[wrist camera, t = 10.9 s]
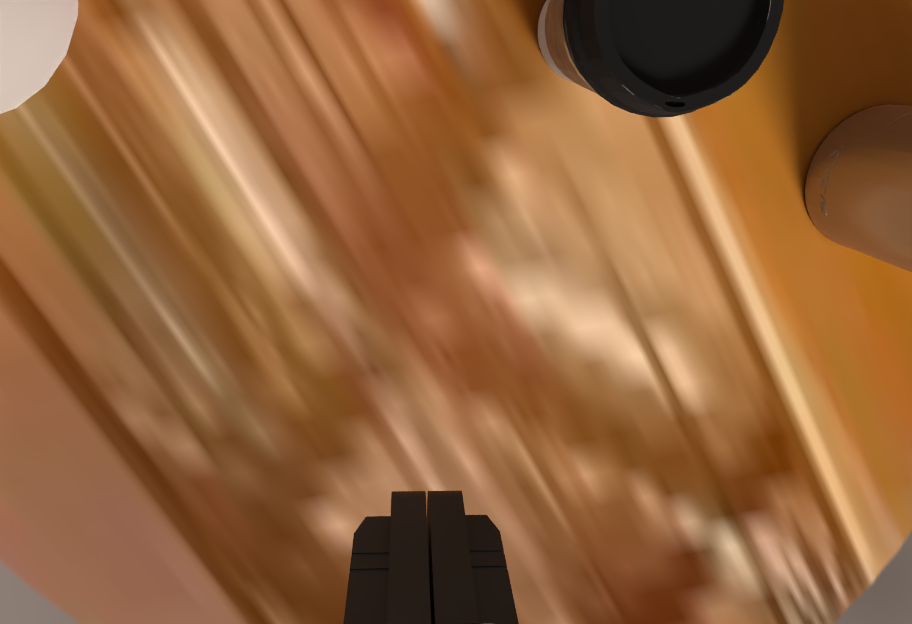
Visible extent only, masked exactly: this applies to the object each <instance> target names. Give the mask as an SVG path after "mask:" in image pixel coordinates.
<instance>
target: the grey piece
mask: <svg viewBox="0 0 912 624" xmlns="http://www.w3.org/2000/svg"><path fill="white" fill-rule="evenodd" d="M77 17H78V0H0V114H1V113H4V112H7V111H10V110H13V109H15V108H17V107H18V106H19V105H21V104H22V103H23V102H25V101H26V100H27V99H29V98H30V97H31V96H32V95H34V94H35V93H36V92H38V91H39V90H40V89H42V88H43V87H44V86H45V85H46V84H47V82H48V81H49V79H50V78H51V76H52V75H53V73H54V72H55V70H56V69H57V67H58V66H59V64H60V63H61V61H62V60H63V59H64V57H65V56H66V54H67V50H68V47H69V44H70V40H71V37H72V34H73V30H74V27H75V23H76V20H77Z"/></svg>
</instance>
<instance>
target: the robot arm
mask: <svg viewBox="0 0 912 624" xmlns="http://www.w3.org/2000/svg"><path fill="white" fill-rule="evenodd" d="M805 199H806V207H807V210H808V213H809V216H810V218H811V220H812V222H813V223H814V225H815V226H816V228H817V229H818V230H819V231H820V232H821V233H822V234H823V235H824V236H825V237H827V238H829V239H830V240H832V241H834V242H836V243H838V244H841V245H843V246H846V247H849V248H851V249H854V250H856V251H859V252H862V253H864V254H867V255H869V256H872V257H874V258H876V259H879V260H882V261H884V262H887V263H889V264H892V265H895V266H897V267H900V268H902V269H905V270H908V271H910V272H912V105H892V104H885V105H879V106H874V107H870V108H867V109H865V110H862V111H860V112H857V113H855V114H854V115H852V116H851V117H849V118H847V119H846V120H844V121H843V122H842V123H840V124H839V125H838V126H837V127H836V128H835V129H834V130H833V131H832V132H830V134H829V135H828V136H827V137H826V139H825V140H824V141H823V142H822V144H821V145H820V146H819V148H818V150H817V152H816V154H815V156H814V157H813V159H812V161H811V164H810V168H809V171H808V174H807V178H806V186H805ZM344 624H518V619H517V614H516V609H515V604H514V599H513V594H512V589H511V584H510V579H509V574H508V570H507V565H506V560H505V555H504V550H503V545H502V540H501V535H500V531H499V530H498V529H497V527H496V526H495V525H494V524H493V522H492V521H491V520H490V519H489V517H488V516H487V515H465V511H464V503H463V495H462V491H428V499H427V516H426V494H425V491H402V492H392V498H391V516H376V517H366V518H365V519H364V520H363V522H362V523H361V525H360V526H359V527H358V529H357V530H356V532H355V533H354V539H353V547H352V557H351V564H350V573H349V581H348V590H347V599H346V607H345V616H344Z"/></svg>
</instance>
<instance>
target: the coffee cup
mask: <svg viewBox="0 0 912 624" xmlns="http://www.w3.org/2000/svg"><path fill="white" fill-rule="evenodd" d="M783 2H784V0H546V2H545V3H544V6H543V8H542V11H541V13H540V17H539V22H538V41H539V47H540V50H541V52H542V55H543V57H544V59H545V61H546V62H547V64H548V65H549V66H550V67H551V69H552V70H553V71H554V72H556V73H557V74H558V75H560V76H561V77H563V78H565V79H567V80H569V81H572V82H574V83H576V84H578V85H580V86H582V87H584V88H587V89H589V90H591V91H593V92H595V93H597V94H598V95H600V96H601V97H603V98H604V99H605V100H607V101H608V102H610V103H611V104H612V105H614V106H616V107H619V108H621V109H623V110H626V111H628V112H630V113H635V114H639V115H644V116H649V117H674V116H678V115H682V114H686V113H690V112H693V111H695V110H697V109H700V108H703V107H705V106H708V105H711V104H713V103H716V102H718V101H720V100H722V99H724V98H726V97H728V96H730V95H731V94H733V93H734V92H735V91H737V90H738V89H739V88H740V87H742V86H743V85H744V84H746V82H747V81H748V80H749V79H750V78H751V77H752V76H753V74H754V73H755V72H756V71H757V70H758V68H759V67H760V65H761V63H762V62H763V60H764V58H765V57H766V55H767V54H768V52H769V49H770V47H771V45H772V42H773V40H774V38H775V35H776V33H777V30H778V26H779V22H780V18H781V15H782V11H783Z"/></svg>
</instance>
